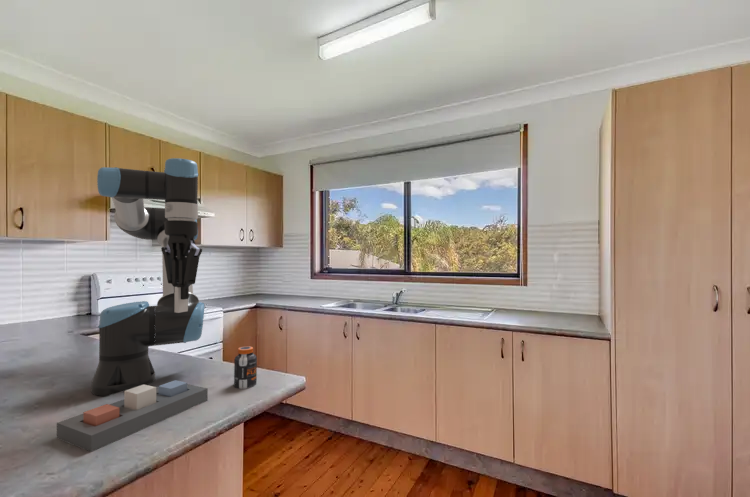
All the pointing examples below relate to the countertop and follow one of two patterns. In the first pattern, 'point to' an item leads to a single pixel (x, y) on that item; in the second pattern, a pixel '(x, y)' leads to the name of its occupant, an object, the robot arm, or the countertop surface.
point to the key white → (139, 397)
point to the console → (128, 419)
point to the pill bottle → (245, 368)
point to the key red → (100, 415)
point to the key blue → (172, 388)
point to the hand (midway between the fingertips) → (181, 311)
